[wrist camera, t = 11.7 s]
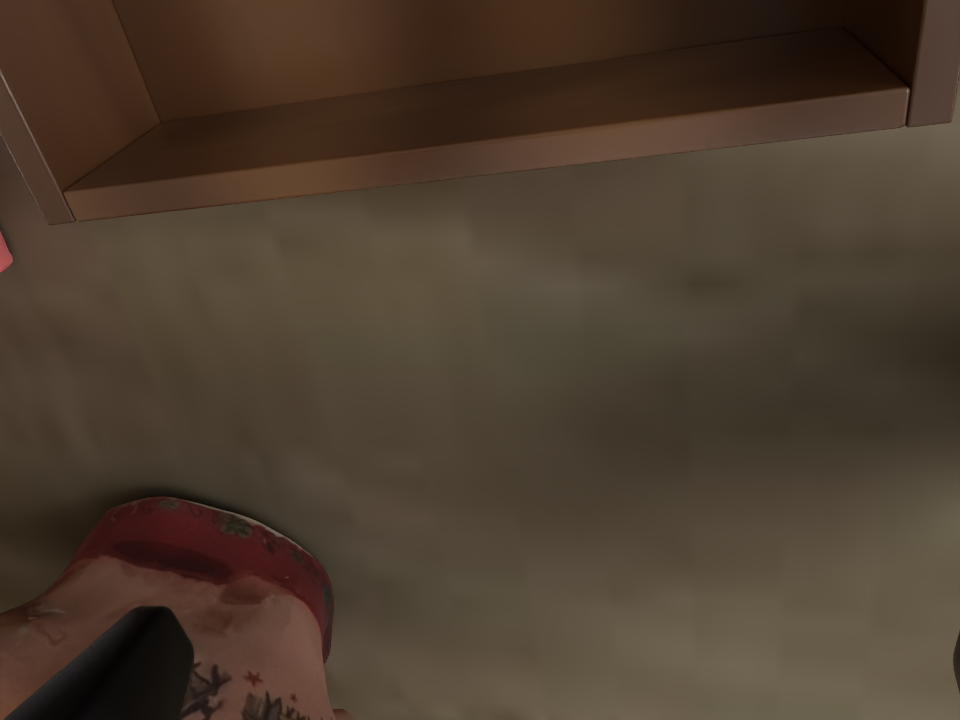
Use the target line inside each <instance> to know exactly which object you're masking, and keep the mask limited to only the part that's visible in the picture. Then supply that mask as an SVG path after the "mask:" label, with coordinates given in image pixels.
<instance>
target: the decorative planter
mask: <svg viewBox="0 0 960 720" xmlns="http://www.w3.org/2000/svg"><path fill="white" fill-rule="evenodd" d="M139 606H166V607H168V608H170V609H171V610H172V611H173V613H174V614H175V616H176V618H177V619H178V621H179V622H180V624H181V626H182V627H183V629H184V631H185V632H186V634H187V636H188V637H189V639H190V641H191V642H192V645H193V648H194V665H193V669H192V673H191V677H190V681H189V684H188V688H187V692H186V696H185V700H184V703H183V707H182V711H181V715H180V718H179V720H355V719H354V718H353V717H352V715H350V714H349V713H348V712H346V711H345V710H344V709H335V710H332V707H331V705H330V702H329V700H328V694H327V687H326V678H325V672H324V664H325V662H326V660H327V658H328V656H329V652H330V647H331V634H332V621H333V612H334V599H333V591H332V586H331V582H330V579H329V577H328V575H327V573H326V572H325V570H324V569H323V567H322V566H321V565H320V564H319V562H318V561H317V560H316V559H315V558H314V557H313V556H312V555H311V554H310V553H308V552H307V551H305V550H304V549H303V548H301V547H300V546H299V545H297V544H296V543H295V542H293V541H292V540H290V539H288V538H287V537H285V536H283V535H282V534H280V533H278V532H276V531H274V530H273V529H271V528H269V527H267V526H265V525H263V524H262V523H260V522H258V521H255V520H253V519H250V518H248V517H245V516H242V515H239V514H236V513H233V512H229V511H225V510H221V509H218V508H214V507H210V506H207V505H203V504H200V503H196V502H192V501H188V500H183V499H178V498H172V497H150V498H144V499H139V500H136V501H132V502H129V503H125V504H122V505H119V506H116V507H114V508H112V509H110V510H109V511H107V512H106V513H105V514H104V515H103V516H102V517H101V518H100V519H99V521H98V522H97V523H96V524H95V525H94V527H93V528H92V529H91V531H90V532H89V533H88V535H87V536H86V538H85V539H84V540H83V542H82V543H81V545H80V546H79V547H78V549H77V551H76V552H75V554H74V556H73V558H72V559H71V561H70V562H69V564H68V566H67V567H66V569H65V570H64V571H63V573H62V574H61V576H60V577H59V578H58V579H57V580H56V581H55V582H54V583H53V585H52V586H50V587H49V588H48V589H47V590H46V591H45V592H43V593H42V594H41V595H39V596H38V597H37V598H35V599H33V600H31V601H29V602H27V603H26V604H23V605H21V606H18V607H16V608H13V609H10V610H8V611H5V612H2V613H0V720H3V719H4V718H5V717H6V716H7V715H9V714H10V713H11V712H12V711H13V710H14V709H16V708H17V707H18V706H19V705H20V704H21V703H23V702H24V701H25V700H26V699H27V698H28V697H30V696H31V695H32V694H33V693H34V692H35V691H37V690H38V689H39V688H40V687H41V686H42V685H44V684H45V683H46V682H47V681H48V680H49V679H51V678H52V677H53V676H54V675H55V674H56V673H58V672H59V671H60V670H61V669H62V668H63V667H65V666H66V665H67V664H68V663H69V662H70V661H72V660H73V659H74V658H75V657H76V656H77V655H79V654H80V653H81V652H82V651H83V650H84V649H86V648H87V647H88V646H89V645H90V644H91V643H93V642H94V641H95V640H96V639H97V638H98V637H100V636H101V635H102V634H103V633H104V632H105V631H107V630H108V629H109V628H110V627H111V626H112V625H114V624H115V623H116V622H117V621H118V620H119V619H121V618H122V617H123V616H124V615H125V614H126V613H128V612H129V611H130V610H132V609H134V608H136V607H139Z"/></svg>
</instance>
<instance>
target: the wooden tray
mask: <svg viewBox="0 0 960 720" xmlns="http://www.w3.org/2000/svg"><path fill="white" fill-rule="evenodd" d="M959 75H960V0H0V134H1V136H2V138H3V140H4V142H5V144H6V146H7V148H8V150H9V152H10V154H11V155H12V157H13V159H14V161H15V163H16V165H17V167H18V169H19V171H20V173H21V175H22V177H23V179H24V181H25V182H26V184H27V186H28V188H29V190H30V192H31V194H32V196H33V198H34V200H35V202H36V204H37V206H38V207H39V209H40V211H41V213H42V215H43V217H44V219H45V221H46V223H47V224H49V225H55V224H64V223H72V222H75V221H78V222H82V221H90V220H99V219H108V218H116V217H125V216H134V215H143V214H151V213H160V212H169V211H178V210H186V209H195V208H204V207H213V206H221V205H230V204H239V203H247V202H256V201H265V200H274V199H282V198H291V197H300V196H309V195H317V194H326V193H335V192H343V191H352V190H361V189H370V188H378V187H387V186H396V185H405V184H413V183H422V182H431V181H440V180H448V179H457V178H466V177H474V176H483V175H492V174H501V173H509V172H518V171H527V170H536V169H544V168H553V167H562V166H571V165H579V164H588V163H597V162H605V161H614V160H623V159H632V158H640V157H649V156H658V155H667V154H675V153H684V152H693V151H701V150H710V149H719V148H728V147H736V146H745V145H754V144H763V143H771V142H780V141H789V140H798V139H806V138H815V137H824V136H832V135H841V134H850V133H859V132H867V131H876V130H885V129H894V128H901V127H904V125H906V126H907V127H917V126H926V125H935V124H943V123H950V122H951V121H952V117H953V111H954V105H955V99H956V93H957V87H958V81H959Z"/></svg>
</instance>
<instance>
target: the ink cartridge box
mask: <svg viewBox="0 0 960 720" xmlns="http://www.w3.org/2000/svg"><path fill="white" fill-rule="evenodd" d="M12 262H13V257H12V255H11V254H10V252H9V250H8V248H7V245H6V243H5V241H4V238H3V236H2V233H1V231H0V273H1V272H2V271H4V270H5V269H6V268H8V267H9V266H10V265H11V264H12Z"/></svg>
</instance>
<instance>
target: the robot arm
mask: <svg viewBox="0 0 960 720" xmlns="http://www.w3.org/2000/svg"><path fill="white" fill-rule="evenodd" d="M193 665H194V648H193V645H192V642H191V641H190V639H189V637H188V636H187V634H186V632H185V631H184V629H183V627H182V626H181V624H180V622H179V621H178V619H177V618H176V616H175V614H174V613H173V611H172V610H171V609H170V608H168V607H166V606H139V607H136V608H134V609H132V610H130V611H129V612H128V613H126V614H125V615H124V616H123V617H122V618H121V619H119V620H118V621H117V622H116V623H115V624H114V625H112V626H111V627H110V628H109V629H108V630H107V631H105V632H104V633H103V634H102V635H101V636H100V637H98V638H97V639H96V640H95V641H94V642H93V643H91V644H90V645H89V646H88V647H87V648H86V649H84V650H83V651H82V652H81V653H80V654H79V655H77V656H76V657H75V658H74V659H73V660H72V661H70V662H69V663H68V664H67V665H66V666H65V667H63V668H62V669H61V670H60V671H59V672H58V673H56V674H55V675H54V676H53V677H52V678H51V679H49V680H48V681H47V682H46V683H45V684H44V685H42V686H41V687H40V688H39V689H38V690H37V691H35V692H34V693H33V694H32V695H31V696H30V697H28V698H27V699H26V700H25V701H24V702H23V703H21V704H20V705H19V706H18V707H17V708H16V709H14V710H13V711H12V712H11V713H10V714H9V715H7V716H6V717H5V718H4V719H3V720H179V718H180V715H181V711H182V707H183V703H184V700H185V696H186V692H187V688H188V684H189V681H190V677H191V673H192V669H193ZM953 665H954V672H955V677H956V681H957V685H958V688H959V692H960V632H959V635H958V639H957V642H956V646H955V650H954V655H953Z"/></svg>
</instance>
